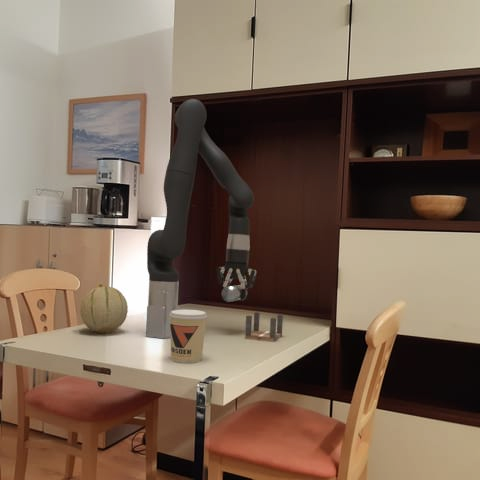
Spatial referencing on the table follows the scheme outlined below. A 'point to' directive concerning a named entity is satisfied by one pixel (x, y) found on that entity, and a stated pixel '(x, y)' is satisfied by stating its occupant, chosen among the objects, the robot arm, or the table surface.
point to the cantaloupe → (103, 309)
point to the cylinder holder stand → (263, 335)
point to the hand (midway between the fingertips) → (234, 299)
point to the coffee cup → (187, 335)
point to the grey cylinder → (232, 293)
